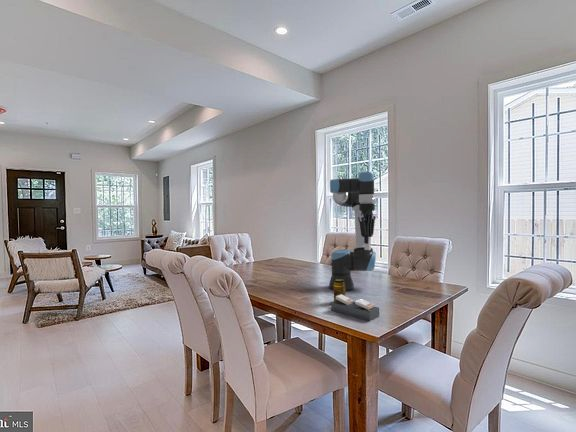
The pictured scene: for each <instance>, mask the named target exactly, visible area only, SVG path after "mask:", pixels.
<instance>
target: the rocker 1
mask: <svg viewBox="0 0 576 432" xmlns="http://www.w3.org/2000/svg"><path fill="white" fill-rule="evenodd" d="M336 299H337V300H339V301H341V302H343V303H345V304H346V305H349V304H351V303H353V302H354V299H351V297H350V298H349V297H348V296H346V295H345V296H344V295H342V294H341V295H338V296H336Z"/></svg>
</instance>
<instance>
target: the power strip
mask: <svg viewBox="0 0 576 432" xmlns="http://www.w3.org/2000/svg"><path fill="white" fill-rule="evenodd" d="M329 306H330V311H332V312H334V311H335V312H334V313H338V314H341V313H342V314H341V315H344V316H345V315H346V316H350V317H353V318H356V319H360V320H363V319H364V321H367V320H368V322H372V321H374V320H375V319H378V318H379V317H380V307H378V306H374V308H371V309H369V310H368V309H365V308H363V307H361V306H359V305H357V304H355V301H353V303H351V304H349V305H346V304H345V303H343V302H341V301H339V300H336V301H334V300H333V301H331V302H330V303H329ZM371 320H372V321H371Z"/></svg>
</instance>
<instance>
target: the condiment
mask: <svg viewBox="0 0 576 432" xmlns="http://www.w3.org/2000/svg"><path fill="white" fill-rule="evenodd" d="M341 294H342V295H344V296H346V291H345V283H344V280H343V279H335V280H334V290H333V301H336V300H337V299H336V296H338V295H341Z"/></svg>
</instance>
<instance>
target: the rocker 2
mask: <svg viewBox="0 0 576 432" xmlns="http://www.w3.org/2000/svg"><path fill="white" fill-rule="evenodd" d="M354 302H355V304H357V305H359V306H361V307H363V308H365V309H368V310H369V309H371V308H374V307H375V304H374V303H373V302H369V301H367V300H365V299H362V298H360V299H358V300H355V301H354Z"/></svg>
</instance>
